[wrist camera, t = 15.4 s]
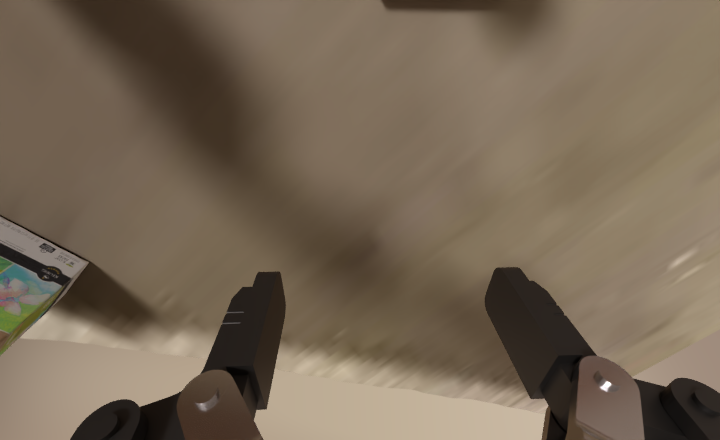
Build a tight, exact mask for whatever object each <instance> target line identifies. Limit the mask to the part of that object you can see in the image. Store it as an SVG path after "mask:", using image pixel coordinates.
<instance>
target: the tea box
mask: <svg viewBox="0 0 720 440" xmlns="http://www.w3.org/2000/svg"><path fill="white" fill-rule="evenodd" d="M88 263H89V262H88V261H85V260H83V259H81V258H78V257H77V256H75V255H73V254H71V253H69V252H67V251H65V250H63V249H61V248H59V247H57V246H55V245H54V244H52V243H50V242H48V241H46V240H44V239H42V238H40V237H38V236H36V235H34V234H32V233H30V232H29V231H27V230H25V229H24V228H22V227H20V226H18V225H16V224H14V223H12V222H10V221H8V220H6V219H4V218H3V217H1V216H0V355H1V354H2V353H3V352H5V351H6V350H7V349H8V348H9V347H10V346H11V345H12V344H13V343H14V342H15V341H16V340H17V339H18V338H20V337H21V336H22V335H23V334H24V333H25V332H26V331H27V330H28V329H29V328H30V327H31V326H32V325H33V324H35V323H36V322H37V321H38V320H39V319H40V318H41V317H42V316H43V315H44V314H45V313H46V312H47V311H48V310H49V309H50V308H52V307H53V306H54V305H55V304H56V303H57V302H58V301H59V300H60V299H61V298H62V297H63V296H64V295H65V294H66V293H67V291H68V290H69V288H70V287H71V286H72V284H73V283H74V281H75V280H76V279H77V277H78V276H79V275H80V274H81V272H82V271H83V270H84V269H85V267H86V266H87V265H88Z"/></svg>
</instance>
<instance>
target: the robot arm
mask: <svg viewBox="0 0 720 440" xmlns="http://www.w3.org/2000/svg"><path fill="white" fill-rule="evenodd" d="M485 307H486V311H487V313H488V315H489V317H490V319H491V321H492V323H493V325H494V327H495V329H496V331H497V333H498V335H499V337H500V339H501V341H502V343H503V345H504V347H505V349H506V351H507V353H508V355H509V357H510V359H511V361H512V363H513V365H514V367H515V369H516V371H517V373H518V375H519V376H520V378H521V380H522V382H523V384H524V386H525V388H526V390H527V392H528V394H529V396H530V398H531V399H542V398H545V400H546V401H547V403H548V405H549V406H548V408H547V410H546V414H545V421H544V427H543V434H542V440H720V393H718V392H717V391H715V390H714V389H712V388H710V387H709V386H706V385H705V384H703V383H700V382H698V381H695V380H692V379H688V378H677V379H675V380H674V381H672V382H671V383H670V384H669V385H668V386H667V387H664V386H660V385H656V384H652V383H648V382H644V381H641V380H637V379H633V378H632V377H631V376H630V375H629V374H628V373H627V372H626V371H625V370H624V369H623V368H621V367H620V366H619V365H617V364H616V363H614V362H612V361H610V360H608V359H605V358H603V357H599V356H597V355H596V354H595V353H594V352H593V350H592V349H591V348H590V346H589V345H588V344H587V342H586V341H585V340H584V339H583V337H582V336H581V335H580V333H579V332H578V331H577V329H576V328H575V327H574V326H573V324H572V323H571V322H570V320H569V319H568V318H567V316H564V313H563V311H562V310H561V309H560V307H559V306H557V305H556V302H555V301H554V300H553V298H552V297H551V296H550V294H549V293H548V292H547V291H546V290H545V289H544V288H542V287H541V286H540V285H538V284H537V283H536V282H534V281H529V280H528V278H527V277H526V276H525V274H524V273H523V272H522V270H521V269H520V268H518V267H506V268H496V269H495V270H494V272H493V275H492V278H491V281H490V284H489V287H488V290H487V292H486V295H485ZM285 310H286V304H285V296H284V290H283V284H282V279H281V274H280V272H258V273H257V275H256V278H255V281H254V284H253V287H242V288H241V289H240V291H239V292H238V293H237V294H236V295H235V296H234V297H233V298H232V300H231V303H230V305H229V308H228V310H227V314H226V315H225V317H224V320H223V324H222V325H221V327H220V330H219V332H218V335H217V337H216V340H215V342H214V345H213V347H212V350H211V352H210V354H209V357H208V359H207V362H206V364H205V367H204V369H203V371H202V372H201V374H200V375H198V376H197V377H195V378H194V379H193V380H191V381H190V382H189V383H188V384H187V385H186V386H185V388H184V389H183V390H182V391H181V392H179V393H178V394H175V395H173V396H170V397H168V398H165V399H162V400H159V401H156V402H153V403H151V404H148V405H145V406H142V407H139V406H138V405H137V404H136V403H135V402H134V401H131V400H127V399H126V400H117V401H113V402H110V403H108V404H106V405H104V406H102V407H100V408H99V409H97V410H96V411H94V412H93V413H92V414H91V415H89V416H88V417H87V418H86V419H85V420H84V421H83V422H82V424H81V425H80V426H79V427H78V428H77V430H76V431H75V433H74V434H73V436H72V437H71V439H70V440H263V438H262V436H261V434H260V432H259V430H258V428H257V426H256V424H255V422H254V417H255V413H256V410H261V409H267V404H268V399H269V394H270V389H271V384H272V379H273V374H274V369H275V364H276V359H277V354H278V349H279V344H280V339H281V334H282V329H283V324H284V319H285Z"/></svg>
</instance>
